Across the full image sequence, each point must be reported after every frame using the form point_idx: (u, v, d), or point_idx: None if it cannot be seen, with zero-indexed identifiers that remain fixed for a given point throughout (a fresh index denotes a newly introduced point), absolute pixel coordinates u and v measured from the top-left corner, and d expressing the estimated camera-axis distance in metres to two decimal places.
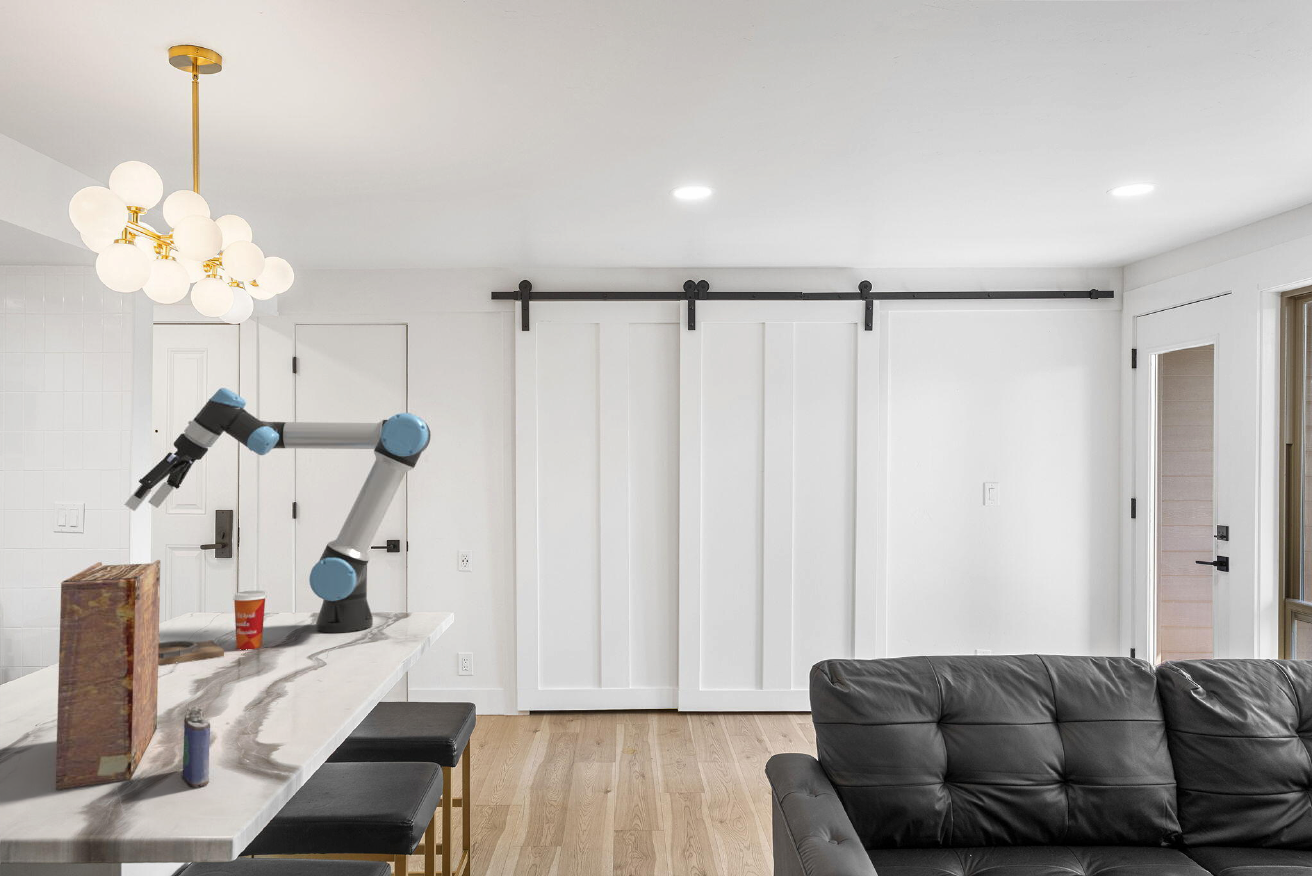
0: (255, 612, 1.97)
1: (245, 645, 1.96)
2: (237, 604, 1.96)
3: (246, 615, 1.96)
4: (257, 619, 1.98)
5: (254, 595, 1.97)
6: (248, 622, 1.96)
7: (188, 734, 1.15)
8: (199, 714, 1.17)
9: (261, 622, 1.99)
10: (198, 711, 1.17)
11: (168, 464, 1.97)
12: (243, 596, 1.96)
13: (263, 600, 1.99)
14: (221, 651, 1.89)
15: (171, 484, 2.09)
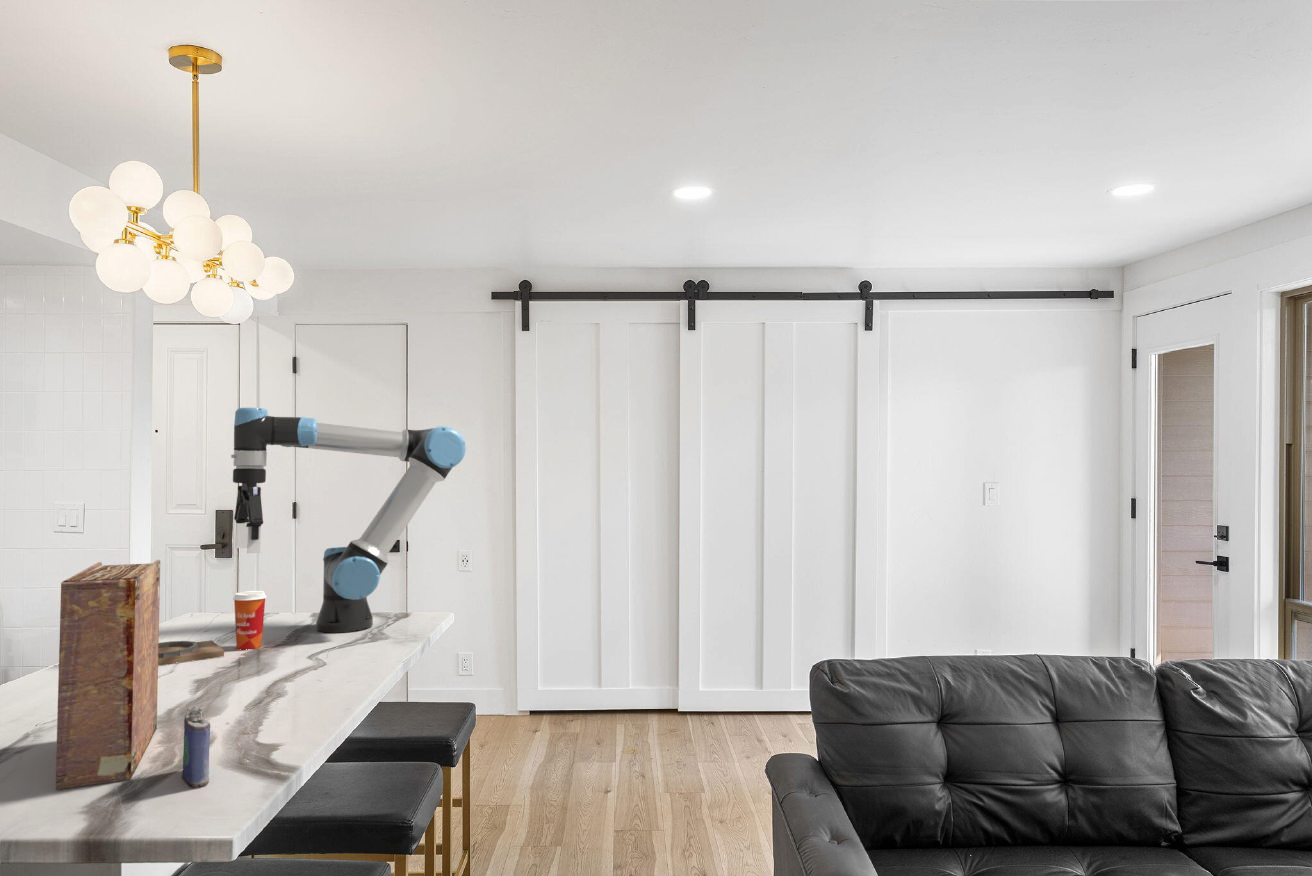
0: (255, 612, 1.97)
1: (245, 645, 1.96)
2: (237, 604, 1.96)
3: (246, 615, 1.96)
4: (257, 619, 1.98)
5: (254, 595, 1.97)
6: (248, 622, 1.96)
7: (188, 734, 1.15)
8: (199, 714, 1.17)
9: (261, 622, 1.99)
10: (198, 711, 1.17)
11: (258, 497, 1.95)
12: (243, 596, 1.96)
13: (263, 600, 1.99)
14: (221, 651, 1.89)
15: (243, 521, 2.06)
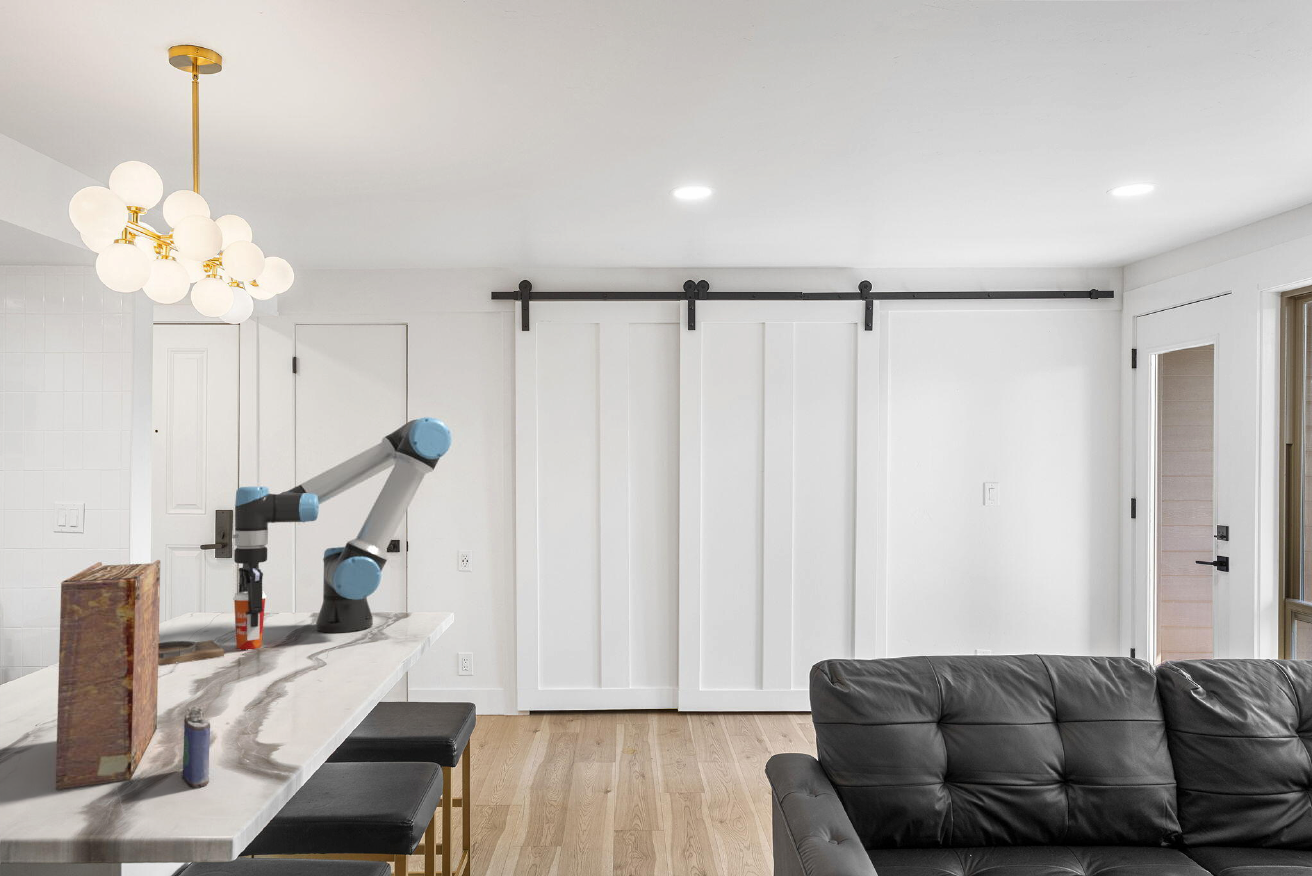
0: None
1: (245, 646, 1.96)
2: (237, 604, 1.96)
3: (246, 615, 1.96)
4: None
5: None
6: None
7: (188, 734, 1.15)
8: (199, 714, 1.17)
9: (261, 622, 1.99)
10: (198, 711, 1.17)
11: (259, 583, 1.95)
12: (243, 596, 1.96)
13: (263, 600, 1.99)
14: (221, 651, 1.89)
15: None
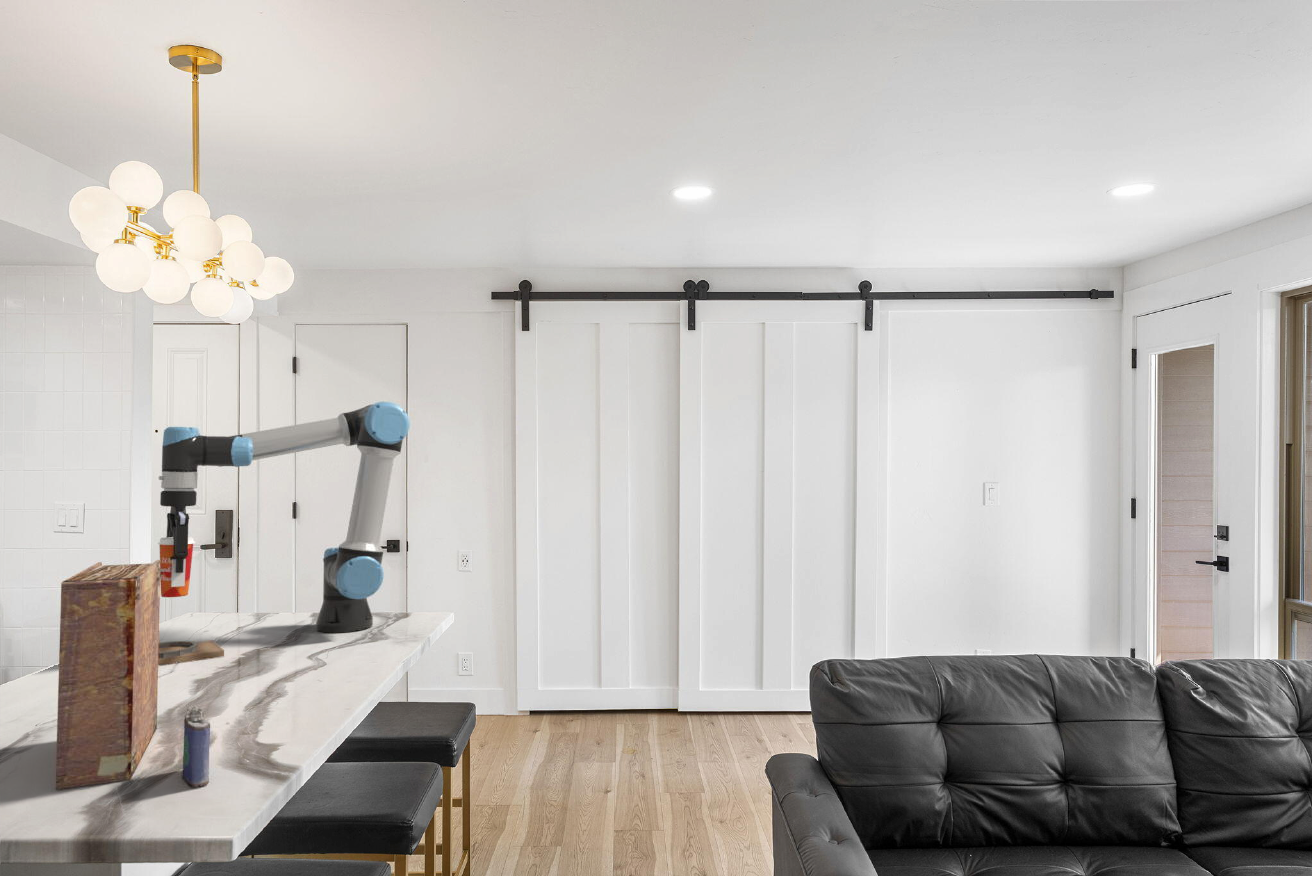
0: None
1: (169, 592, 1.87)
2: (162, 548, 1.87)
3: (171, 561, 1.86)
4: None
5: None
6: None
7: (188, 734, 1.15)
8: (199, 714, 1.17)
9: (188, 569, 1.89)
10: (198, 711, 1.17)
11: (185, 527, 1.86)
12: (168, 540, 1.86)
13: (190, 546, 1.90)
14: (221, 651, 1.89)
15: None
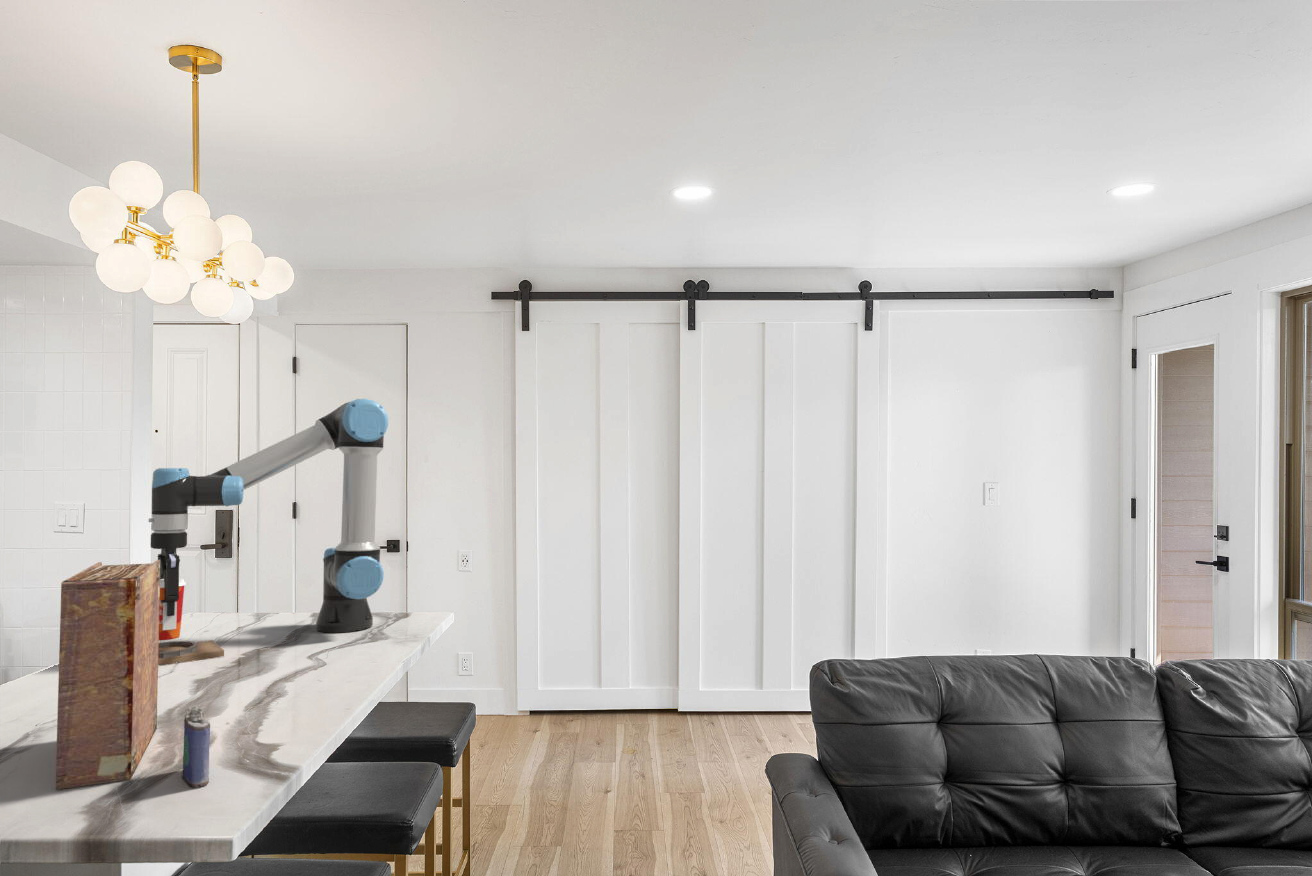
0: None
1: (160, 636, 1.85)
2: None
3: (162, 604, 1.85)
4: None
5: None
6: None
7: (188, 734, 1.15)
8: (199, 714, 1.17)
9: (179, 611, 1.88)
10: (198, 711, 1.17)
11: (176, 569, 1.84)
12: None
13: (181, 588, 1.88)
14: (221, 651, 1.89)
15: None
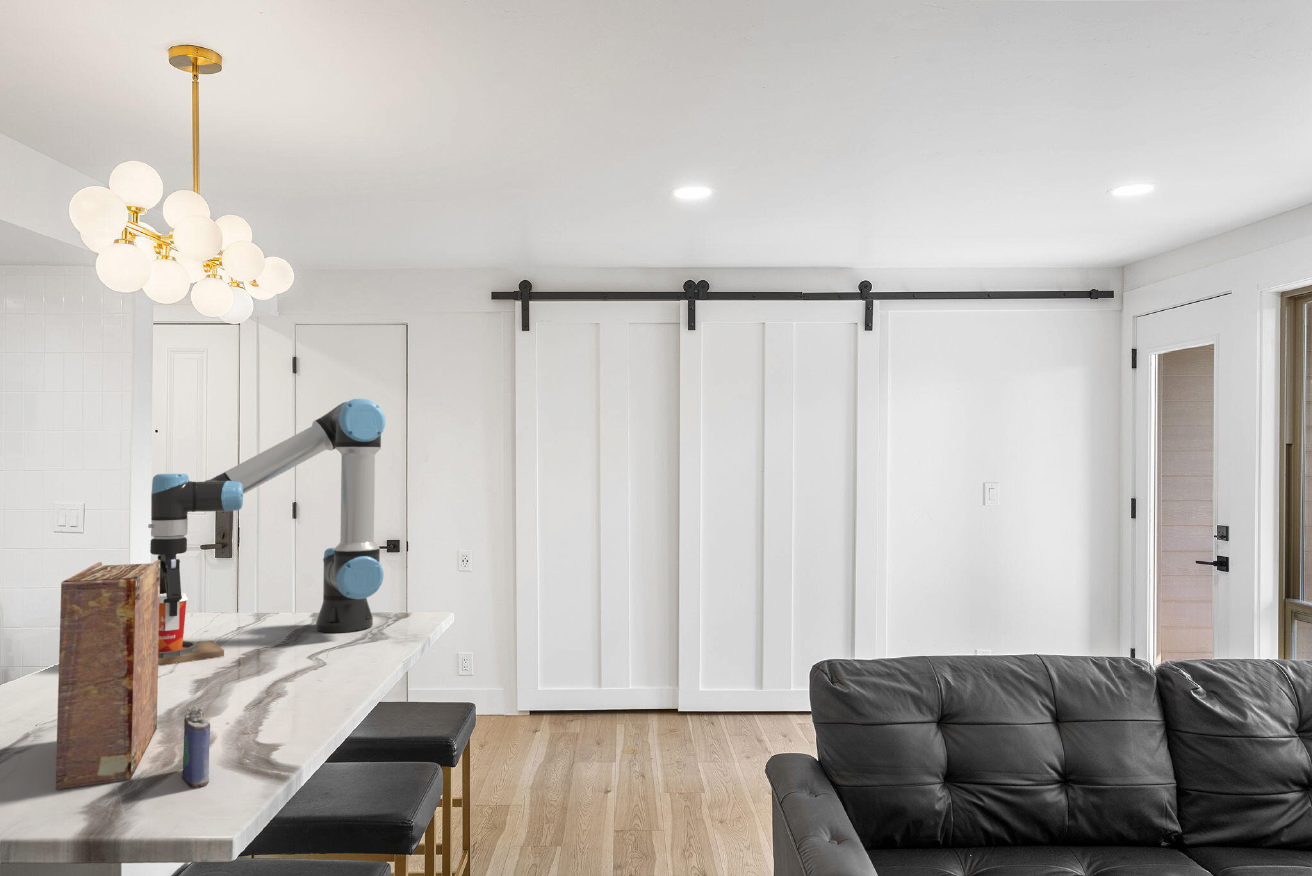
0: None
1: (162, 651, 1.84)
2: None
3: (164, 619, 1.84)
4: None
5: None
6: None
7: (188, 734, 1.15)
8: (199, 714, 1.17)
9: (181, 626, 1.86)
10: (198, 711, 1.17)
11: (176, 570, 1.84)
12: (160, 598, 1.83)
13: (183, 603, 1.87)
14: (221, 651, 1.89)
15: (164, 592, 1.94)
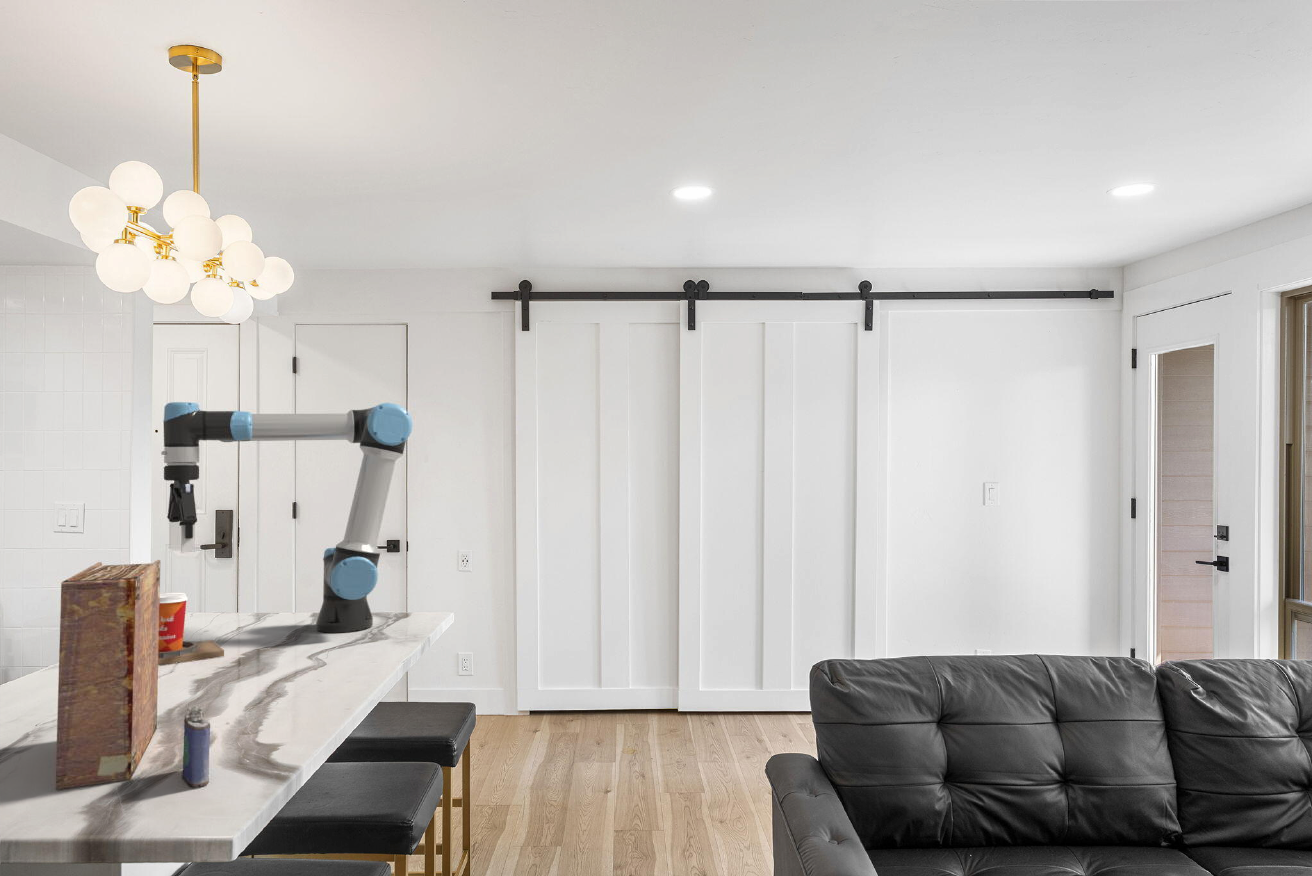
0: (174, 615, 1.85)
1: (162, 651, 1.84)
2: None
3: (164, 619, 1.84)
4: (176, 623, 1.85)
5: (173, 597, 1.84)
6: (166, 626, 1.84)
7: (188, 734, 1.15)
8: (199, 714, 1.17)
9: (181, 626, 1.86)
10: (198, 711, 1.17)
11: (191, 494, 1.89)
12: (160, 599, 1.83)
13: (183, 603, 1.87)
14: (221, 651, 1.89)
15: (176, 520, 1.99)
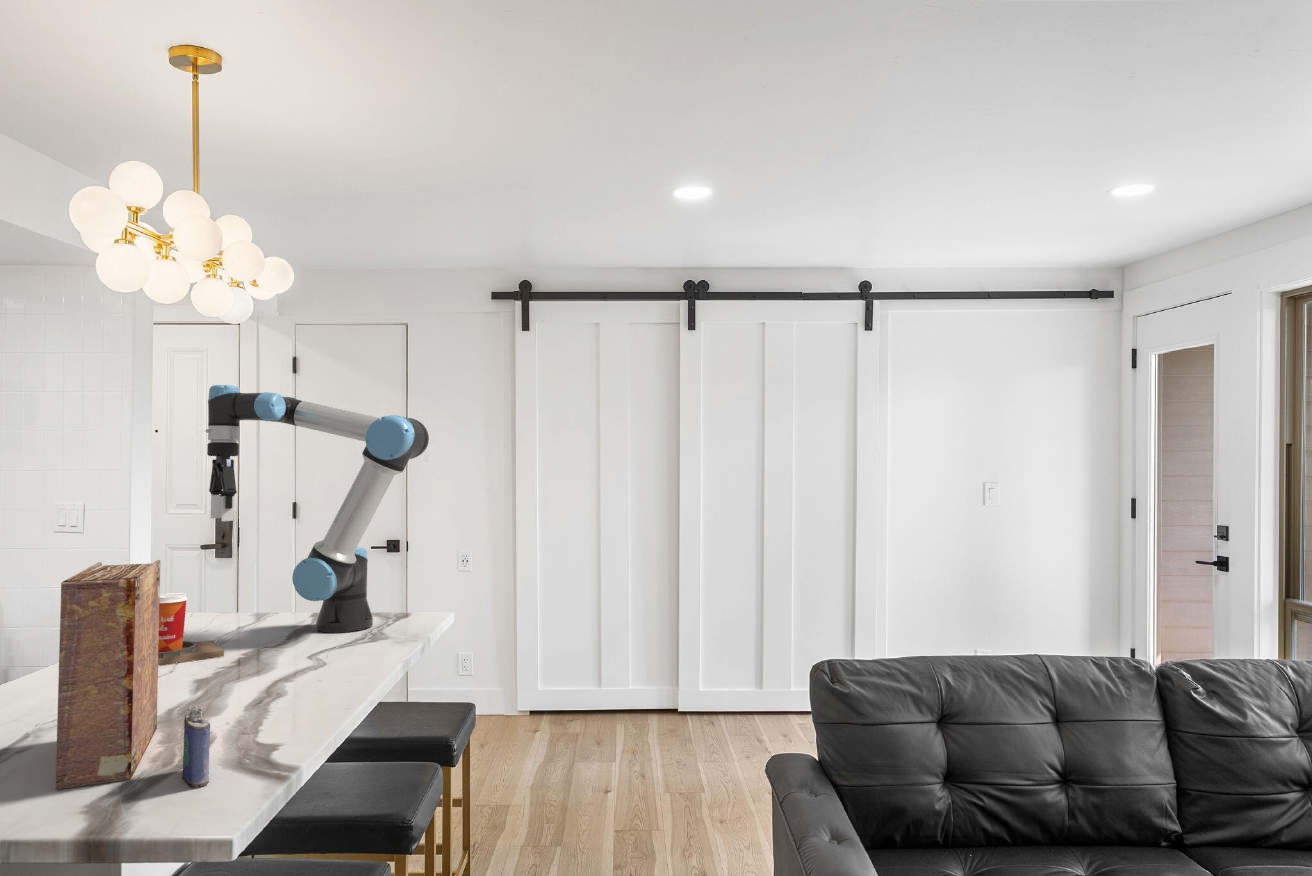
0: (174, 615, 1.85)
1: (162, 651, 1.84)
2: None
3: (164, 619, 1.84)
4: (176, 623, 1.85)
5: (173, 597, 1.85)
6: (166, 626, 1.84)
7: (188, 734, 1.15)
8: (199, 714, 1.17)
9: (181, 626, 1.86)
10: (198, 711, 1.17)
11: (231, 468, 2.08)
12: (160, 598, 1.83)
13: (183, 603, 1.87)
14: (221, 651, 1.89)
15: (217, 493, 2.18)
